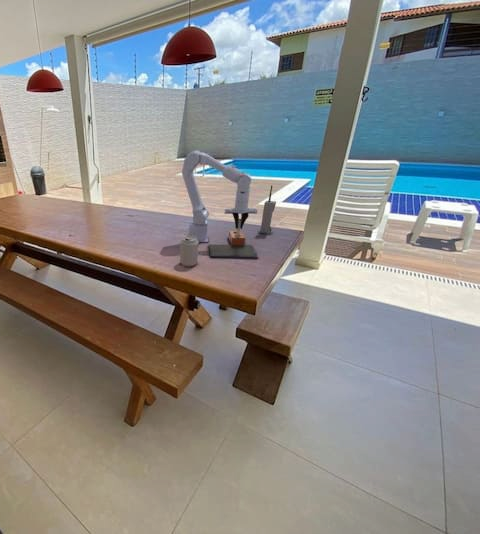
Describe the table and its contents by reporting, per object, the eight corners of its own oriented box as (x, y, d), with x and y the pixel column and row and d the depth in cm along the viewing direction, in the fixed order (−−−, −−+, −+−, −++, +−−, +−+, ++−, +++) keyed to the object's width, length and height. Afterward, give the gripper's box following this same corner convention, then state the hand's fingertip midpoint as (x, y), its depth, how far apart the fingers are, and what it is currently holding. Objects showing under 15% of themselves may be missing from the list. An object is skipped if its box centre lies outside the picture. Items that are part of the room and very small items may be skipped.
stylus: (235, 238, 152) (238, 219, 147) (235, 237, 153) (237, 218, 149) (239, 239, 151) (241, 219, 147) (238, 237, 153) (241, 218, 148)
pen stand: (231, 245, 151) (232, 237, 149) (228, 237, 160) (229, 230, 159) (244, 245, 150) (245, 237, 148) (240, 238, 159) (241, 230, 158)
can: (177, 260, 138) (178, 235, 133) (194, 259, 139) (195, 234, 133) (182, 267, 132) (183, 241, 126) (199, 266, 132) (201, 240, 127)
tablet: (210, 257, 139) (210, 255, 139) (208, 246, 152) (208, 244, 151) (257, 258, 136) (257, 256, 135) (251, 247, 148) (251, 244, 147)
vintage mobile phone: (270, 234, 162) (278, 186, 151) (260, 233, 164) (267, 185, 153) (271, 232, 164) (279, 184, 154) (261, 231, 167) (268, 184, 156)
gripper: (226, 202, 142) (224, 230, 148) (260, 202, 139) (256, 230, 145) (225, 199, 148) (222, 225, 154) (257, 198, 145) (253, 226, 151)
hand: (238, 228), depth 150 cm, fingers closed on stylus, 1 cm apart
